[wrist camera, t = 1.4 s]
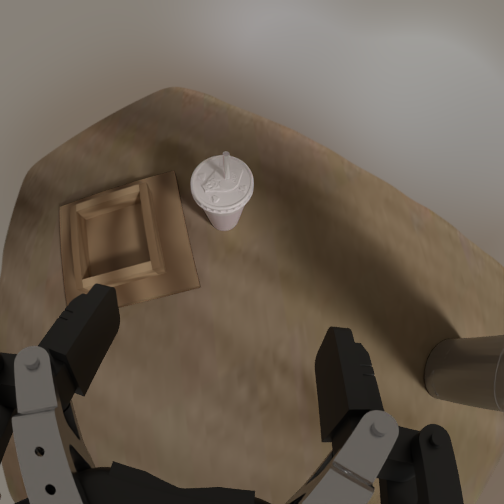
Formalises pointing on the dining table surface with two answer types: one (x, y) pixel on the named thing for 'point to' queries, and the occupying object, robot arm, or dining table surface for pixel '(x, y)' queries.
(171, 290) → the open wooden box
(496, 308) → the dining table surface
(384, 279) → the dining table surface
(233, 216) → the smoothie
